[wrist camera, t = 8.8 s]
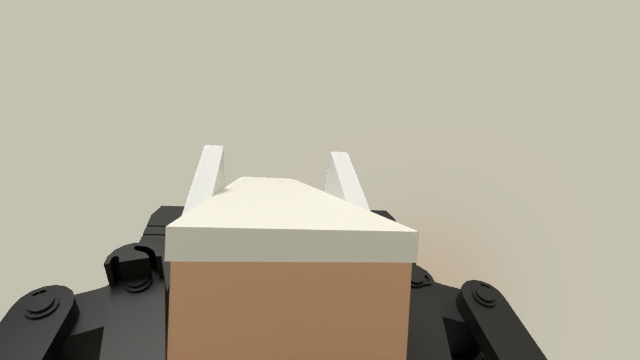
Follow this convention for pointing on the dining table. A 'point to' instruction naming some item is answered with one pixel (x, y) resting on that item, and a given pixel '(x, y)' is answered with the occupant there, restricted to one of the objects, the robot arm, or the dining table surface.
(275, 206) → the slim box
